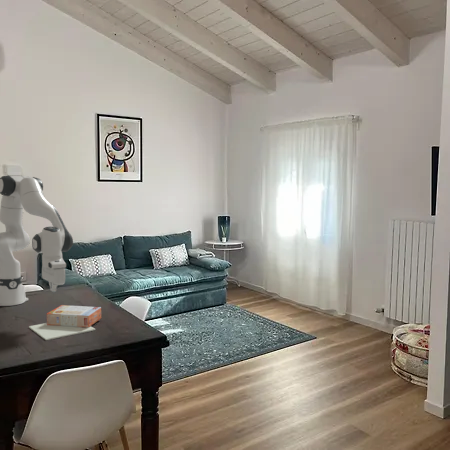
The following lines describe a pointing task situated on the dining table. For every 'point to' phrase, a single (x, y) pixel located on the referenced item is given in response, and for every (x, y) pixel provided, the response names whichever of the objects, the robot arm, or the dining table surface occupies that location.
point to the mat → (58, 330)
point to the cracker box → (74, 316)
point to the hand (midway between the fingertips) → (53, 291)
